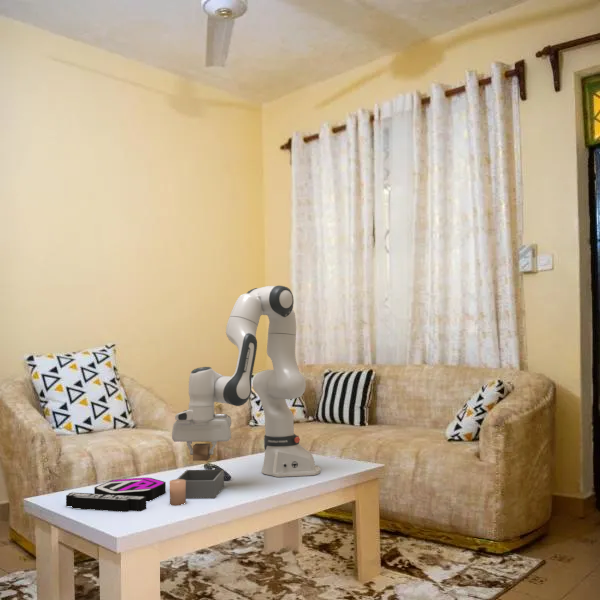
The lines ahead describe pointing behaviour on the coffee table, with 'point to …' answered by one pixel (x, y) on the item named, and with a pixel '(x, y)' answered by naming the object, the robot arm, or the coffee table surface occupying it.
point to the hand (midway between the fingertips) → (201, 454)
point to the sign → (119, 495)
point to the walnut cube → (201, 452)
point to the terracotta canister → (177, 492)
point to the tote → (203, 483)
